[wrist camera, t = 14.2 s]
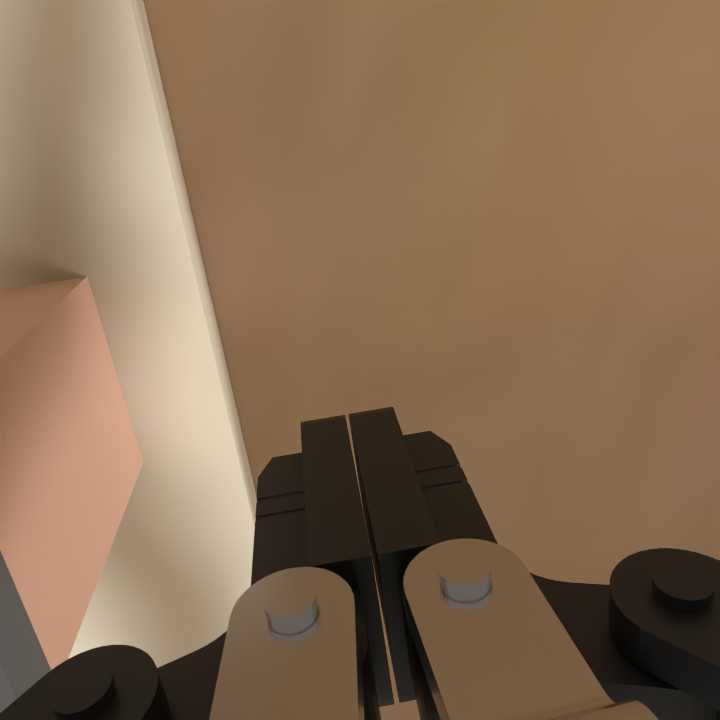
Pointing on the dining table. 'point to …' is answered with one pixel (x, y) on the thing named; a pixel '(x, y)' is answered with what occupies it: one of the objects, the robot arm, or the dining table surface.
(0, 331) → the block
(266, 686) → the robot arm
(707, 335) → the dining table surface
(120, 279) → the board
